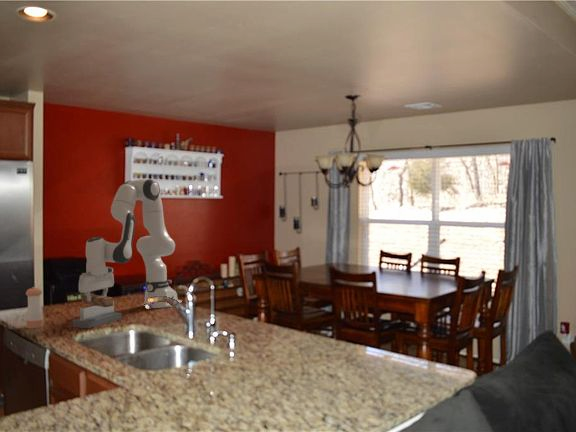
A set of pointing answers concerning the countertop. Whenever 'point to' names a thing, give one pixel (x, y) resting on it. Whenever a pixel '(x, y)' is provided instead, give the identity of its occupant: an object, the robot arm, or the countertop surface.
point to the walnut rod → (98, 300)
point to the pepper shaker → (34, 308)
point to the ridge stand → (96, 316)
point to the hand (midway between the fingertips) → (97, 299)
